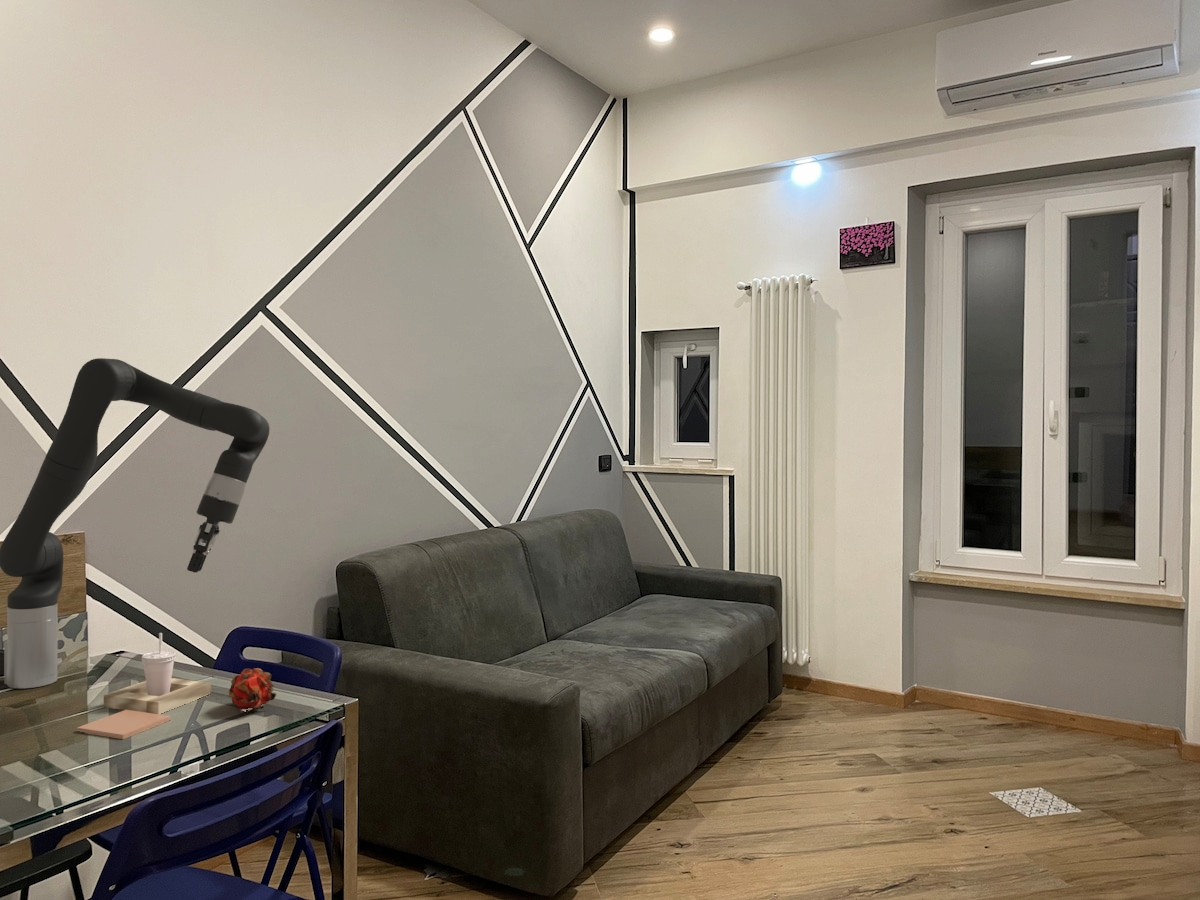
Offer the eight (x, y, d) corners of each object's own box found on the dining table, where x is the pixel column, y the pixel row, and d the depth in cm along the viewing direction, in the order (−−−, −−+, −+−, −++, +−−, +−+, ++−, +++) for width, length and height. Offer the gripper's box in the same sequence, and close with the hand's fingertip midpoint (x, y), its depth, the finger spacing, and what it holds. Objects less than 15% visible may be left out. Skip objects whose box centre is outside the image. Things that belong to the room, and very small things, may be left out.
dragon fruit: (254, 705, 181) (256, 731, 170) (218, 686, 177) (219, 712, 167) (279, 672, 182) (284, 696, 171) (245, 652, 178) (247, 676, 168)
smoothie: (182, 696, 181) (182, 630, 181) (163, 706, 175) (164, 638, 174) (153, 695, 182) (153, 629, 181) (134, 704, 175) (134, 636, 175)
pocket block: (103, 707, 174) (103, 694, 173) (158, 687, 187) (158, 676, 187) (158, 715, 169) (158, 702, 169) (210, 694, 183) (210, 683, 182)
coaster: (77, 731, 159) (77, 727, 159) (126, 713, 170) (126, 709, 170) (123, 739, 156) (123, 734, 156) (170, 720, 166) (170, 716, 166)
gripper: (205, 494, 190) (178, 565, 186) (201, 490, 177) (171, 566, 173) (240, 505, 192) (213, 574, 189) (238, 502, 179) (210, 577, 176)
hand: (193, 570), depth 181 cm, fingers open, 8 cm apart
